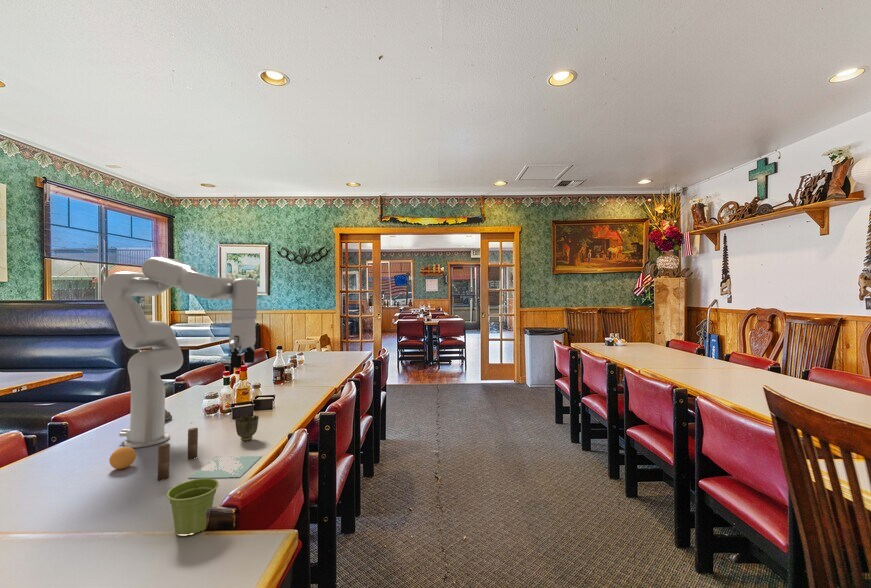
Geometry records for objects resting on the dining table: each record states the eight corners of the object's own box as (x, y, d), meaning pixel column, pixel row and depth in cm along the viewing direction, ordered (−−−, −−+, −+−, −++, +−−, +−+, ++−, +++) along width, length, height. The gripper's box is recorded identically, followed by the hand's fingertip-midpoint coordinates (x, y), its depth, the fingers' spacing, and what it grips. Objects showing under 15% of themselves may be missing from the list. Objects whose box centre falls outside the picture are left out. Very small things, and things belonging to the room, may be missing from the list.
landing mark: (188, 478, 103) (188, 477, 103) (216, 457, 117) (216, 456, 117) (239, 477, 103) (239, 477, 103) (261, 456, 117) (261, 456, 117)
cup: (262, 437, 134) (263, 414, 134) (250, 445, 127) (250, 421, 127) (243, 436, 135) (243, 414, 135) (230, 444, 128) (230, 420, 128)
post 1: (155, 480, 102) (155, 447, 102) (161, 475, 104) (162, 443, 104) (165, 480, 102) (165, 447, 102) (171, 475, 104) (172, 443, 104)
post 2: (185, 459, 115) (186, 430, 115) (190, 456, 117) (191, 427, 117) (194, 459, 115) (194, 430, 115) (199, 456, 117) (199, 427, 118)
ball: (103, 472, 106) (103, 451, 106) (120, 463, 112) (120, 443, 112) (125, 472, 106) (125, 451, 106) (141, 463, 112) (141, 443, 112)
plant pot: (182, 517, 85) (183, 478, 85) (225, 515, 85) (226, 477, 86) (155, 543, 75) (156, 500, 75) (204, 541, 76) (204, 498, 76)
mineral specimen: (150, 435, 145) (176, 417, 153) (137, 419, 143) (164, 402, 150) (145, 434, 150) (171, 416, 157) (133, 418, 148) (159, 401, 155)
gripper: (244, 313, 135) (243, 360, 135) (219, 315, 118) (218, 369, 118) (265, 314, 136) (264, 361, 136) (244, 316, 119) (242, 370, 118)
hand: (242, 365), depth 127 cm, fingers open, 9 cm apart
